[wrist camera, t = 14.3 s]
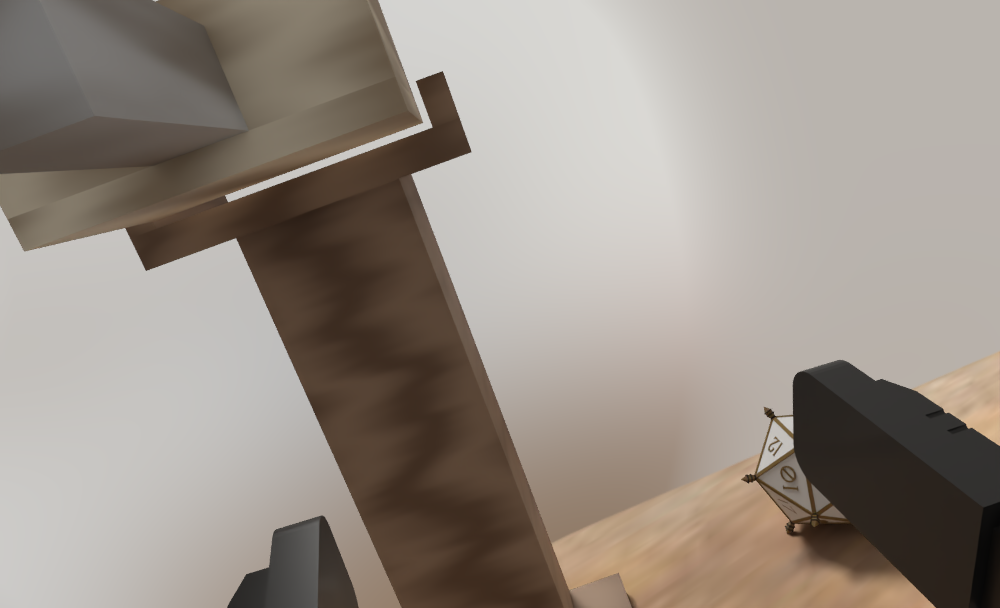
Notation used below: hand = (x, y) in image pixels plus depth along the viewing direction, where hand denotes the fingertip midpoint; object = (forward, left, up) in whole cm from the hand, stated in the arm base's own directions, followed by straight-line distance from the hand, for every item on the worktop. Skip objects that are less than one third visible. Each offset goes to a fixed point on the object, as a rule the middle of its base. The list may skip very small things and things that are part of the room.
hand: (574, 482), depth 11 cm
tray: (-7, +11, +7) cm, 15 cm away
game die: (+15, +30, -25) cm, 42 cm away
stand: (-7, +25, -25) cm, 36 cm away
